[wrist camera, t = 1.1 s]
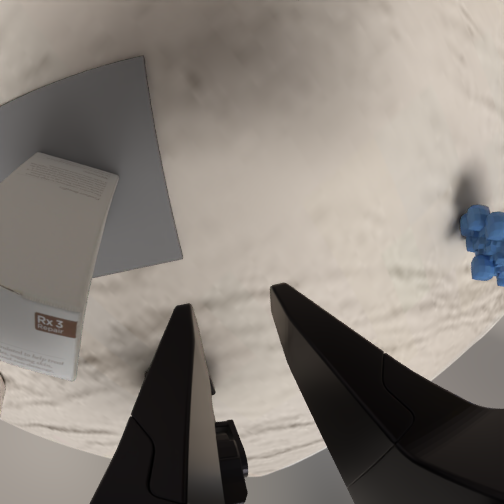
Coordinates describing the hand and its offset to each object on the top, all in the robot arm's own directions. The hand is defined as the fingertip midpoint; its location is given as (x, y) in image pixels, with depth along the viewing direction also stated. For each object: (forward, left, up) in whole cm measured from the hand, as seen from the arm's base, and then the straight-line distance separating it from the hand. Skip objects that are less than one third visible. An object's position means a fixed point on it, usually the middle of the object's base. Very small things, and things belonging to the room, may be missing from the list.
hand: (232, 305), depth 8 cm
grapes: (-10, -26, -13) cm, 31 cm away
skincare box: (0, +8, -13) cm, 15 cm away
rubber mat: (0, +13, -13) cm, 18 cm away
